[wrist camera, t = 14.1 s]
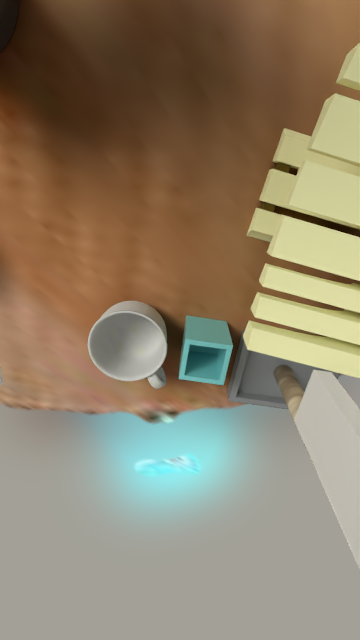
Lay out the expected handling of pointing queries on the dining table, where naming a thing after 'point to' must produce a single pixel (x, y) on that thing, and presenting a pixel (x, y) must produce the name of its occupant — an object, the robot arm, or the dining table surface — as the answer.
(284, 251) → the slatted curved stool
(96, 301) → the dining table surface
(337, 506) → the robot arm
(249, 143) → the dining table surface
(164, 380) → the teacup
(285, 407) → the tray
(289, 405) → the dowel
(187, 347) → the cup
